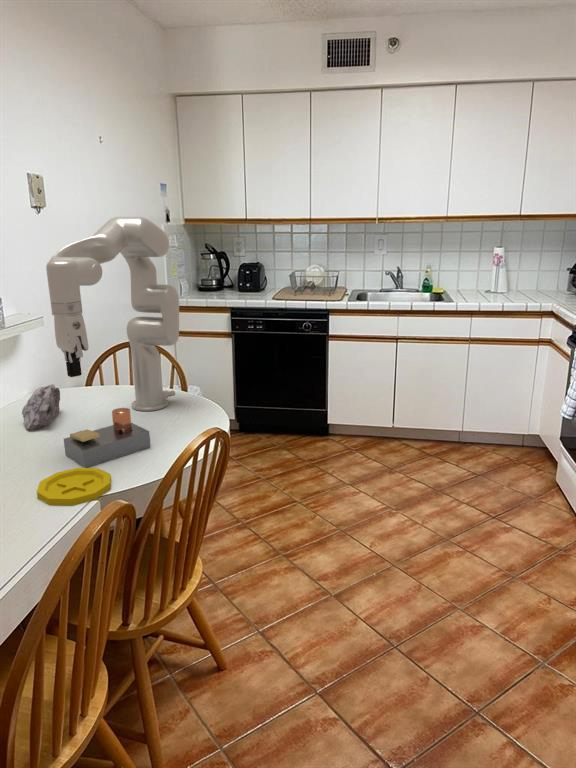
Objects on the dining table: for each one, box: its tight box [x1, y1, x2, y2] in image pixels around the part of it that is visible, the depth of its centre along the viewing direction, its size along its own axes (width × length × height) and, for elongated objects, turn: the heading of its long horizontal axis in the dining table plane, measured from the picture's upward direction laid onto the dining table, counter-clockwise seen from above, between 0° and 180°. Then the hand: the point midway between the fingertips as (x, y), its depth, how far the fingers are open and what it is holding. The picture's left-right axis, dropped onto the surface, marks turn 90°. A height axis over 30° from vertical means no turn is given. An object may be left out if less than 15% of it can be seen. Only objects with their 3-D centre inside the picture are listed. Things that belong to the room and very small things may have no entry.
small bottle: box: [111, 407, 132, 434], centre depth 165 cm, size 5×5×10 cm
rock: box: [21, 384, 61, 431], centre depth 186 cm, size 22×10×15 cm, turn 9°
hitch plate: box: [63, 422, 151, 468], centre depth 162 cm, size 20×12×5 cm, turn 134°
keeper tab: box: [69, 429, 100, 442], centre depth 158 cm, size 8×5×1 cm, turn 44°
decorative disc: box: [36, 467, 112, 506], centre depth 141 cm, size 17×18×2 cm
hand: (74, 375), depth 154 cm, fingers closed
